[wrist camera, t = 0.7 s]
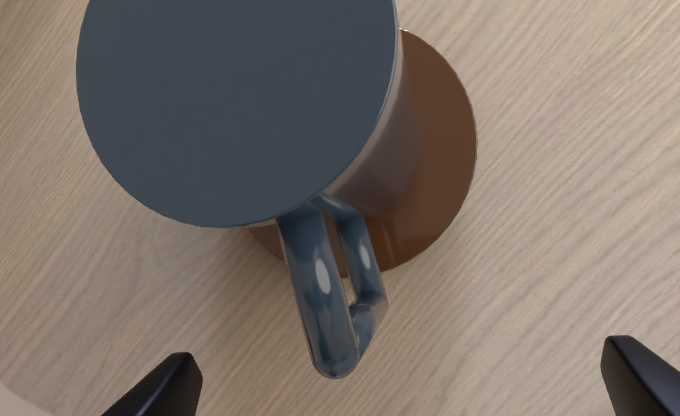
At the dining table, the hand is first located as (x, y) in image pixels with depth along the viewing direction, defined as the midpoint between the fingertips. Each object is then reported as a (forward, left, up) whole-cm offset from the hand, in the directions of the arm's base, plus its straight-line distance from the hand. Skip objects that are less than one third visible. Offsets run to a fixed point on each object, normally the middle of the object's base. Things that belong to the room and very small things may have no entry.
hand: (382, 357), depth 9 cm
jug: (+7, +1, -14) cm, 15 cm away
